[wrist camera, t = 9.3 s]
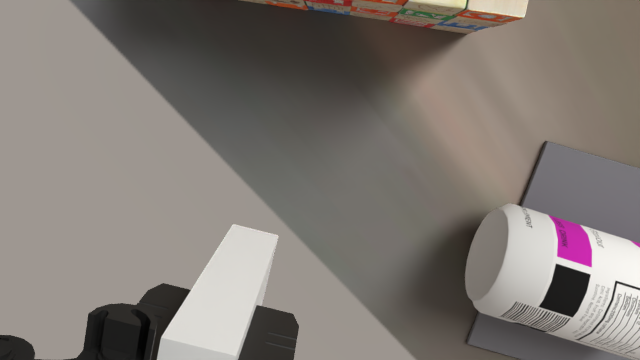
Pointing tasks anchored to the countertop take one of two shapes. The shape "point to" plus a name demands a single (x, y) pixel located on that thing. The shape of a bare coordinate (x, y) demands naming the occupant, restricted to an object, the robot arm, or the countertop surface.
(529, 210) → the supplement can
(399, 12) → the stack of blocks
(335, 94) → the countertop surface
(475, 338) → the mat
